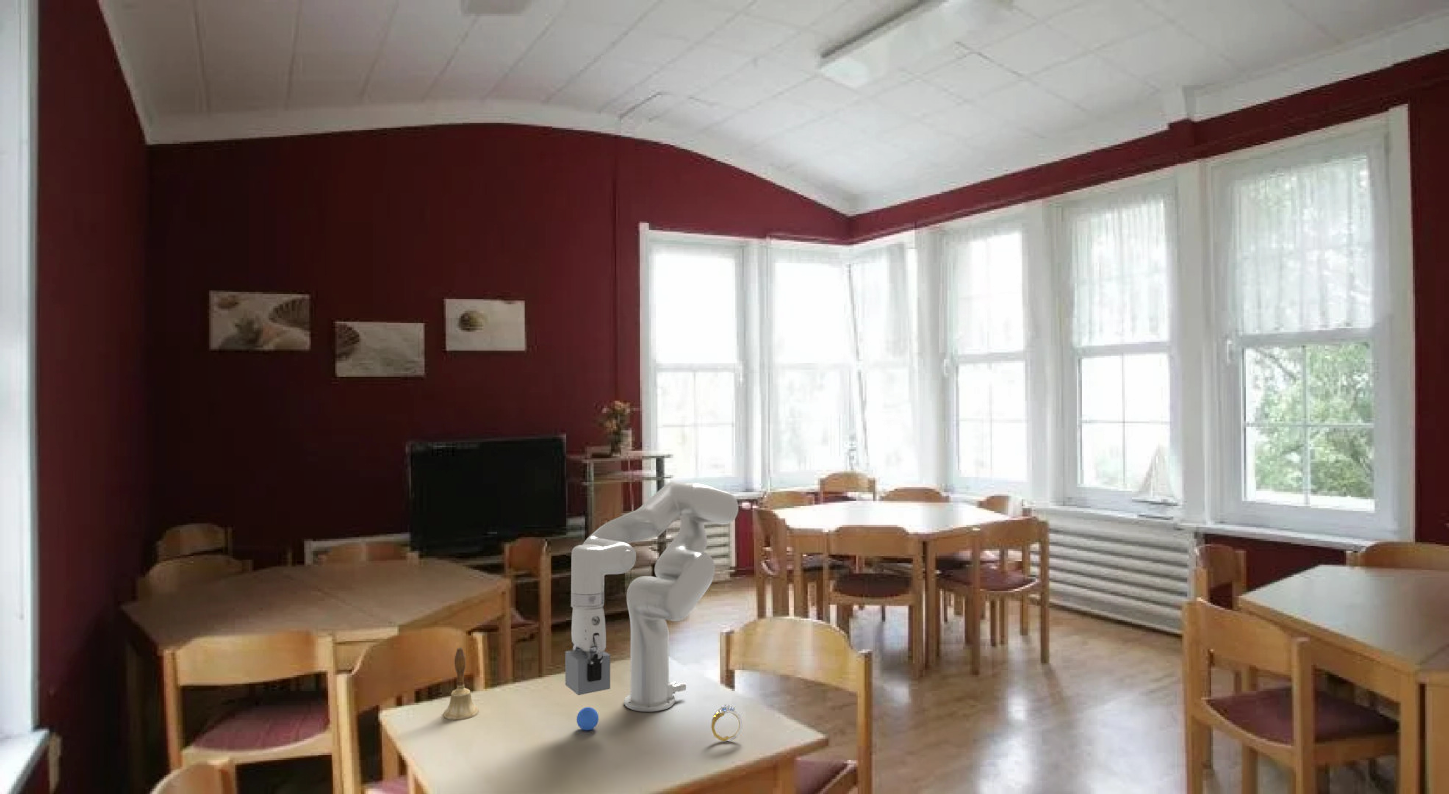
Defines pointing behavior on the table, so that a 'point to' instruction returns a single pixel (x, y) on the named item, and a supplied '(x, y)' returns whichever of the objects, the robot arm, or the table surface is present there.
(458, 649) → the hand bell
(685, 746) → the table surface
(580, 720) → the ball
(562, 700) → the table surface
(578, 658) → the grey cube
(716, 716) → the ring
